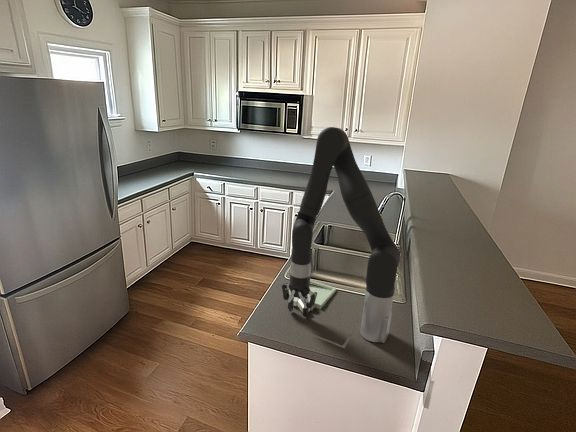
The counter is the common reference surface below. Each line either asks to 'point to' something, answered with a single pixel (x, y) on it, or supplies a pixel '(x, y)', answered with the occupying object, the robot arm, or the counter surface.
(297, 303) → the pipe fitting
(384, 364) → the counter surface
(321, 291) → the tray
